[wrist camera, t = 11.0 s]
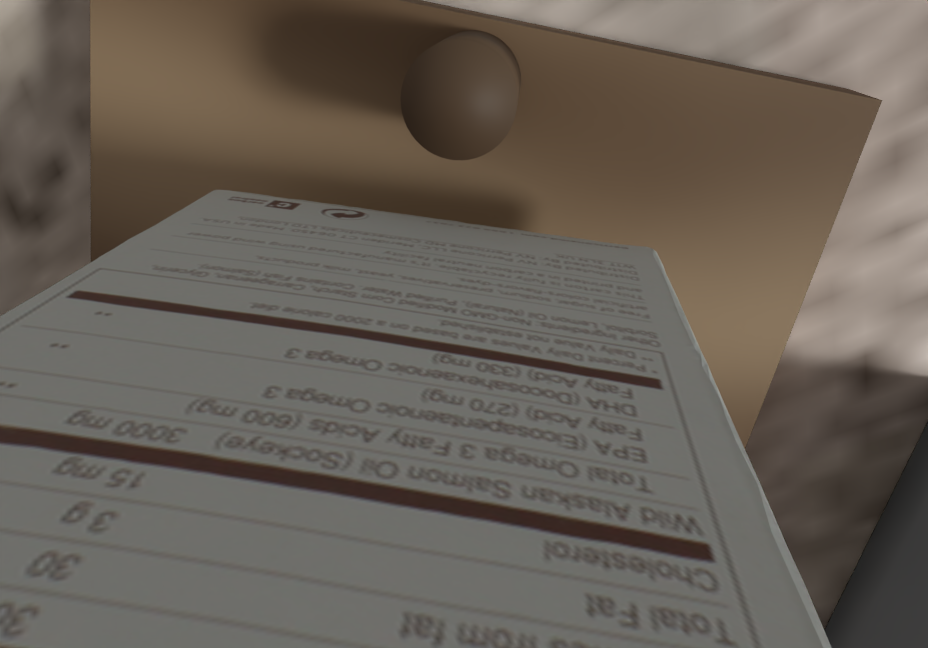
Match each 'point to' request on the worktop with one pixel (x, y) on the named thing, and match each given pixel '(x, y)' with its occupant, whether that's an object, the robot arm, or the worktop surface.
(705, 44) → the worktop surface
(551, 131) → the peg stand
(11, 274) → the worktop surface
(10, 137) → the worktop surface
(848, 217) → the worktop surface
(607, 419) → the supplement box
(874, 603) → the tray
